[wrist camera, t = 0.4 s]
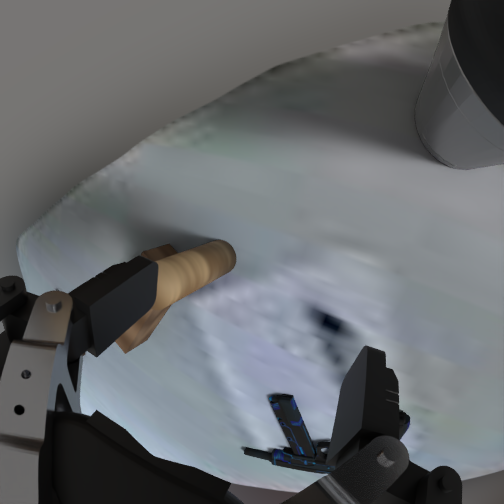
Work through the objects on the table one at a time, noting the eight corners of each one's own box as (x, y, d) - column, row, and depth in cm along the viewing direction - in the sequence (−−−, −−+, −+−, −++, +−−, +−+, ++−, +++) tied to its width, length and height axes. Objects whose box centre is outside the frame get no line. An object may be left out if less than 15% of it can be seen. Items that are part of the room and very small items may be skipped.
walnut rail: (169, 243, 38) (142, 251, 34) (195, 271, 37) (170, 282, 33) (127, 316, 45) (104, 328, 40) (147, 340, 44) (125, 353, 40)
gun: (238, 382, 40) (251, 451, 43) (228, 392, 38) (243, 462, 40) (413, 397, 29) (396, 471, 32) (413, 412, 27) (393, 484, 29)
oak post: (217, 232, 35) (146, 254, 24) (242, 256, 34) (177, 289, 24) (200, 257, 37) (129, 286, 26) (223, 280, 36) (157, 319, 25)
